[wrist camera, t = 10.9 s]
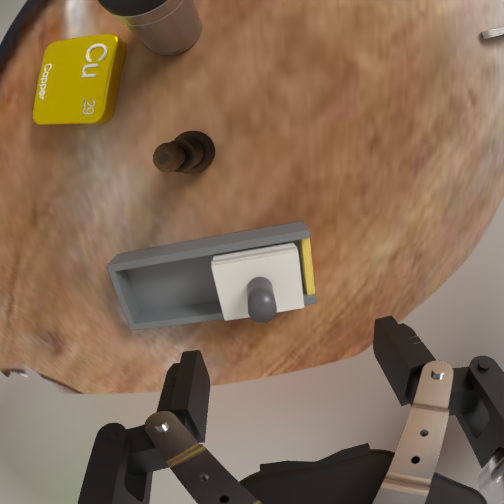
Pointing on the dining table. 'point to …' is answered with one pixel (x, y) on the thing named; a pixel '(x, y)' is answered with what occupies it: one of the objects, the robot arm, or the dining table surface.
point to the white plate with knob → (258, 281)
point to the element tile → (79, 80)
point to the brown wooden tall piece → (185, 153)
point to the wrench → (493, 32)
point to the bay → (193, 276)
